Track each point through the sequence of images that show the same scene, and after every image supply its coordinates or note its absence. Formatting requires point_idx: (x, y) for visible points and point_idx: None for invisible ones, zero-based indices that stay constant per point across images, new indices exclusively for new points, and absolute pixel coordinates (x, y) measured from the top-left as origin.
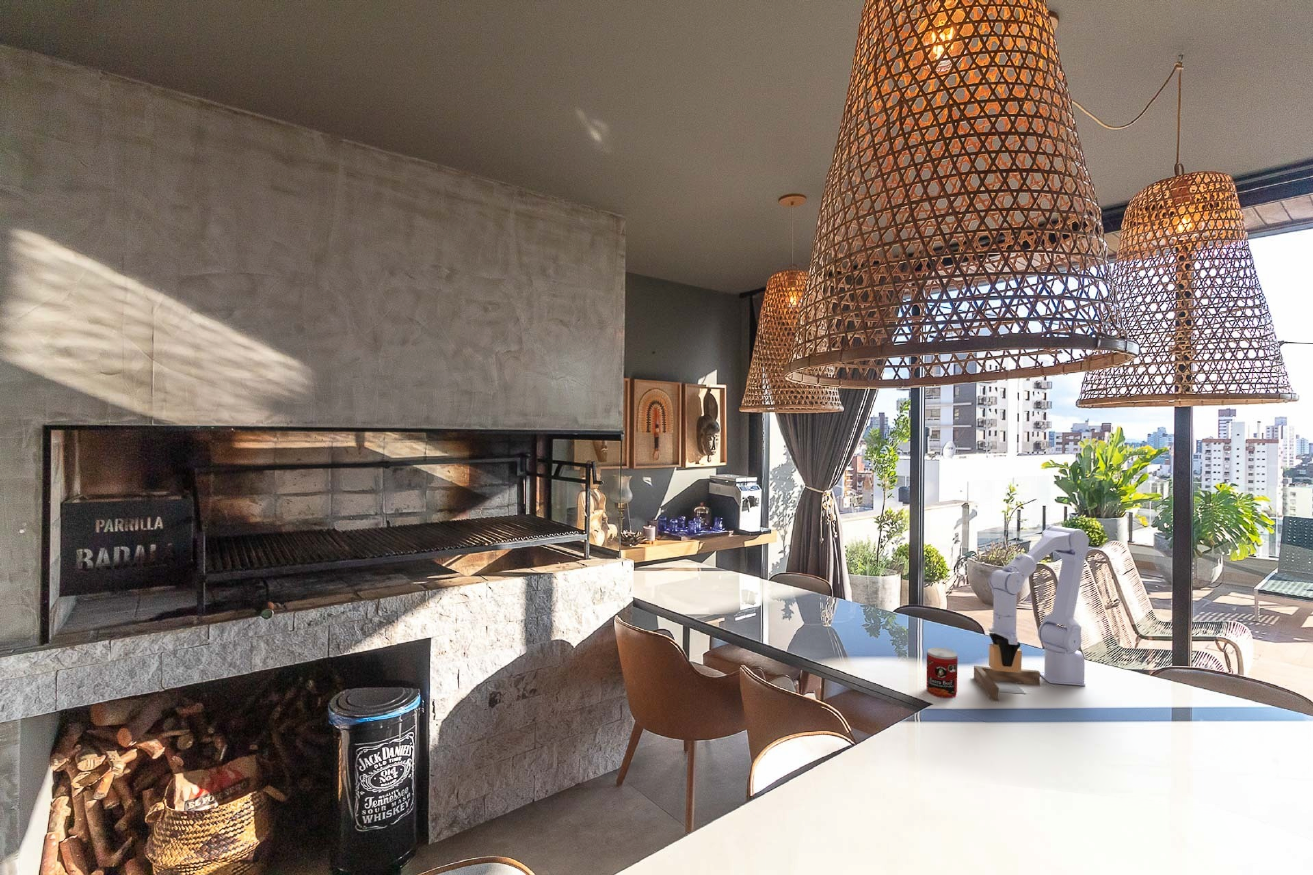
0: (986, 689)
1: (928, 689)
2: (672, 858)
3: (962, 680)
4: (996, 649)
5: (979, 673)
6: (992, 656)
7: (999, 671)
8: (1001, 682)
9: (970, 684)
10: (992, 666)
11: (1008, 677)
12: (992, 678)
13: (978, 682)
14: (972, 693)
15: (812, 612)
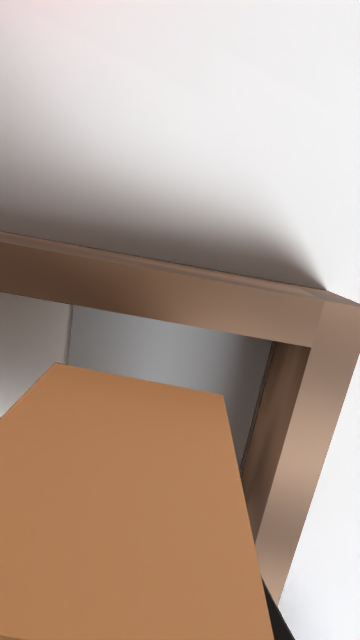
0: (22, 237)
1: None
2: None
3: (278, 176)
4: None
5: (198, 276)
6: (57, 453)
7: (269, 467)
8: (232, 428)
9: (197, 201)
10: (86, 381)
11: (246, 492)
12: (267, 395)
13: (217, 271)
14: (16, 127)
15: None
